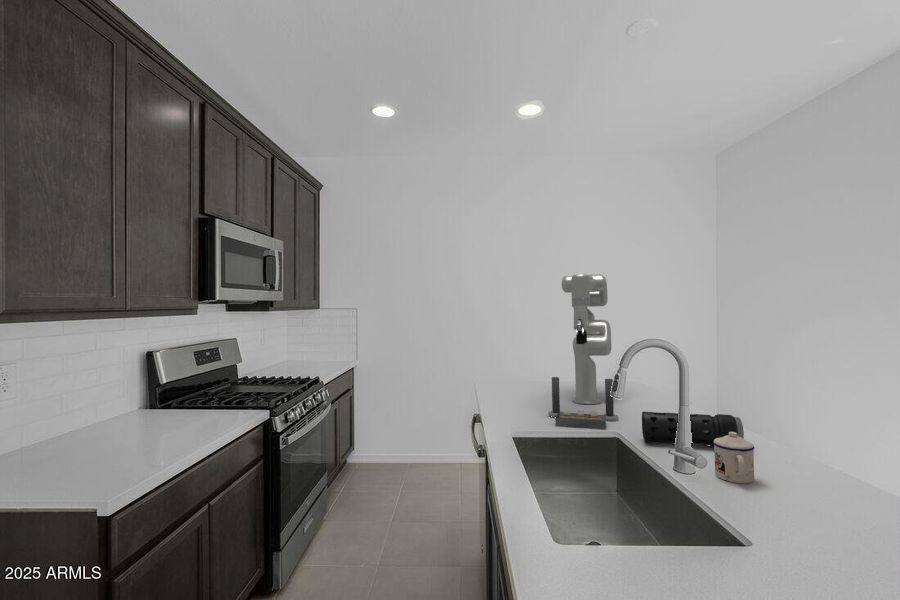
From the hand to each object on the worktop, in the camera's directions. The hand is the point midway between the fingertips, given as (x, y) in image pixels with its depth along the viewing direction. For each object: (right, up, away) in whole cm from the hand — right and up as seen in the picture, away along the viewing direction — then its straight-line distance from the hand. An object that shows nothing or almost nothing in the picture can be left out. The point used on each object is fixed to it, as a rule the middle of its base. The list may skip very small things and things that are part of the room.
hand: (581, 343), depth 190 cm
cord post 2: (+8, -29, -11) cm, 32 cm away
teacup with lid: (+18, -28, -75) cm, 82 cm away
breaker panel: (-6, -29, -18) cm, 35 cm away
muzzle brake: (+22, -29, -46) cm, 58 cm away
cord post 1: (-12, -30, -4) cm, 32 cm away
